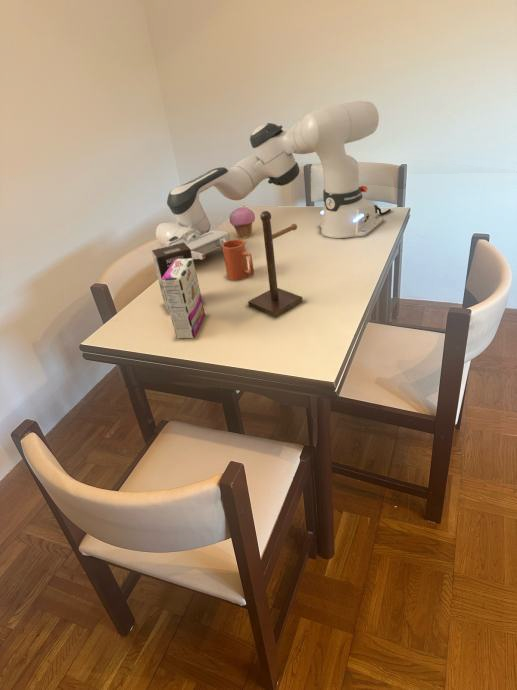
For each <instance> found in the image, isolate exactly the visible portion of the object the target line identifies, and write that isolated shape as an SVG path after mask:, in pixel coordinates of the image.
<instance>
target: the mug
mask: <svg viewBox="0 0 517 690" xmlns="http://www.w3.org/2000/svg"><path fill="white" fill-rule="evenodd" d="M221 248H222V253H223V259H224V265H225V271H226V276H227V279H228V280H231V281H240V280H241V281H242V280H244V279H246V278H247V277H249V276H250V275H251V276H254V275H255V271H254V262H253V255H252V253H249V252H247V251H246V245H245V241H244V240H242V239H230V241H227V242H225V243H223V245H222V247H221ZM247 258H248V260H247ZM248 264H249V266H248Z"/></svg>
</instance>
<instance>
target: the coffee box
mask: <svg viewBox="0 0 517 690" xmlns="http://www.w3.org/2000/svg"><path fill="white" fill-rule="evenodd" d="M151 253H152V257H153V262H154V266H155V271H156V275H157V279H158V284H159V287H160V292H161V296H162V301H163V304H164V307H165V308H166V310H167V311H168V313H169V314H170V311H169V307H168V304H167V300H166V297H165V293H164V289H163V285H162V282H161V279H162V277H163V276H164V274H165V273H166V271H167V270H168V269H169V267H170V266H171V264H172V263H173V261H174V260H175V259H183V258H192V255H191V250H190V248H189V247H188V246H187V245H186V244H185V243H180V244H176V245H172V246H168V247H160V248H157V249H152V250H151Z"/></svg>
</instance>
